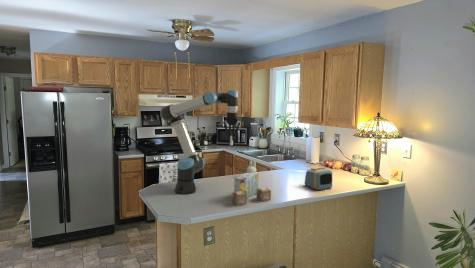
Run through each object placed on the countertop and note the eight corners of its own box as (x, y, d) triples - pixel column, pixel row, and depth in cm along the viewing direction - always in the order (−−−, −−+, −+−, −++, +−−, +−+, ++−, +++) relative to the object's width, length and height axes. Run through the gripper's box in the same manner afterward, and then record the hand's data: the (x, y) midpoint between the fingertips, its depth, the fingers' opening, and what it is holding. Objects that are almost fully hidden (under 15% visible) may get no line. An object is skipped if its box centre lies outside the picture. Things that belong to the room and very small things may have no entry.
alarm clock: (318, 191, 232) (319, 170, 230) (303, 185, 246) (304, 166, 244) (333, 188, 241) (334, 168, 239) (317, 183, 255) (319, 164, 253)
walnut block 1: (232, 202, 203) (232, 191, 202) (241, 201, 206) (242, 190, 205) (237, 206, 196) (237, 195, 195) (246, 204, 199) (247, 193, 198)
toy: (259, 178, 264) (260, 160, 262) (247, 181, 252) (247, 163, 250) (249, 175, 271) (250, 159, 269) (237, 179, 258) (238, 161, 256)
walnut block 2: (256, 198, 212) (256, 188, 211) (265, 197, 215) (265, 187, 214) (261, 201, 206) (262, 191, 205) (270, 200, 209) (271, 190, 208)
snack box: (252, 191, 226) (252, 171, 224) (258, 193, 222) (259, 173, 220) (233, 198, 209) (234, 177, 207) (239, 200, 206) (240, 179, 204)
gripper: (242, 112, 221) (241, 144, 224) (224, 111, 223) (223, 143, 226) (240, 112, 213) (239, 146, 216) (222, 112, 215) (221, 145, 218)
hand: (231, 144), depth 221 cm, fingers closed
